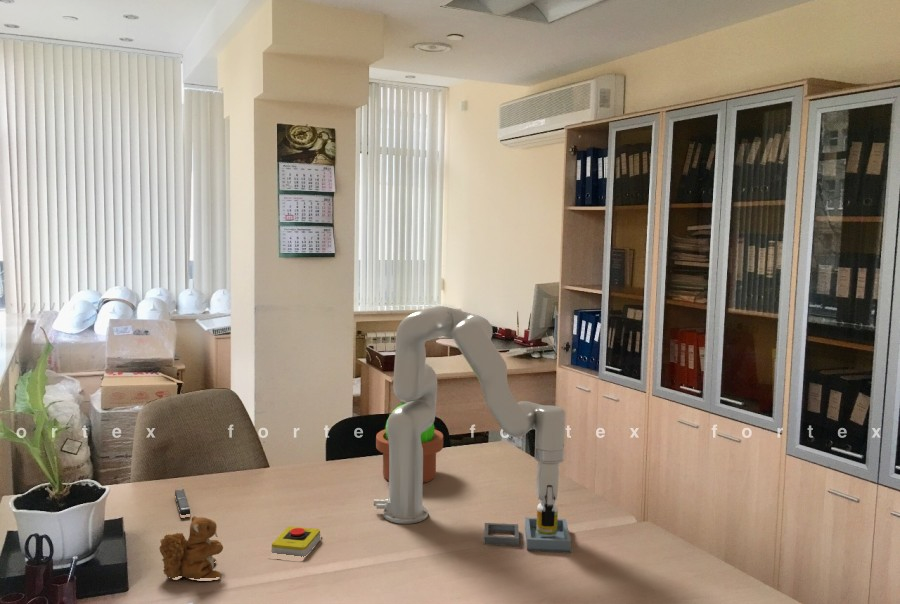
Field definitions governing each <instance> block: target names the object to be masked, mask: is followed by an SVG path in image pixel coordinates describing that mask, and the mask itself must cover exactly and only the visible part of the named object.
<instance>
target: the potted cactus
mask: <svg viewBox="0 0 900 604" xmlns="http://www.w3.org/2000/svg"><path fill="white" fill-rule="evenodd" d="M404 404H406V402H403V401H401V402H400V404H399V405H398V406H396V408H394V409H393V410H392V412H393V411H394V410H395V409H397V408H399V407H400V406H402V405H404ZM388 415H389V416H390V415H391V413H389V414H388ZM389 416H388V417H389ZM387 421H388V419H387V420H386V422H385V426H384V429H382V430H380V431H379V432H377V433H376V436H375V448H376V450H377V451H378V452H380V453H382V475H383V478H384V479H385V480H386V481H388V482H389V441H388V435H387ZM421 443H422V448H423V484H425V483H428V482H431V480H433V479H434V478H435V477H436V474H437V473H436V472H437V471H436V469H437V467H436V466H437V464H436V463H437V453H439V452H440V451H443V447H444V434H443V432H441V431H439V430H438V429H436V428H435V424H434V423H433V424H432V426H431V427H430V428H429V429H427V430H426V431H424V432H423V433H422V434H421Z"/></svg>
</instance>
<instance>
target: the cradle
mask: <svg viewBox="0 0 900 604" xmlns="http://www.w3.org/2000/svg"><path fill="white" fill-rule="evenodd" d="M519 531H520V530H519V524H518V523H501V522H500V523H498V522H497V523H496V522H484V532H483V545H492V546H513V547H519V546H520V533H519ZM490 532H491V533H508V532H510V533H513V534H514V536H509V535H508V536H507V535H489V533H490Z"/></svg>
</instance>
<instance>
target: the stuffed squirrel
mask: <svg viewBox="0 0 900 604" xmlns="http://www.w3.org/2000/svg"><path fill="white" fill-rule="evenodd" d="M189 525H190V526H189V536H188V539H186V537H185V536H184V533H183V532H180V533H178V532H176V533H173V534H170V533H168V534H165V535H164V536H163V538H162V539H160V540H159V541H160V546H159V551H160V554H161V556H162V559H161V561H162V562H163V563H162V564H163V570H162V571H163V574H164V575H165V576H166V577H167V578H168V577H170V578H175V577H178V576H182V577H187V578H194V579H200V578H216V577H220V576H221V575H222V574H221V572H220V571H218V570H214V566H215V564H214V562H215V561H216V562H217V558H215V557H213V556H216V555H220V553H222V552H223V550H224V545H223V544H222V542H221V541H219V540H218V539H211V538H212V537H214V536H215V537H216V538H218V534H217V528H218V527H217V526H218V525H217V522H216V521H214V520H212V519H210V518H207V517H202V516H200V517H197V516H192V517H191V523H190V524H189ZM170 578H169V579H170ZM187 578H186V579H187ZM220 578H221V577H220Z"/></svg>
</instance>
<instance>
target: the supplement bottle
mask: <svg viewBox="0 0 900 604" xmlns="http://www.w3.org/2000/svg"><path fill="white" fill-rule="evenodd" d="M545 499H547V497H545ZM546 504H547V502H546V501H545V505H546ZM542 510H543V500H542V499H541V500H539V503H538V505H537V507H536V518H537V533H538V534H539V535H541V536H544V537H552V536H555V535H556V534H557V519H559V518H558V513H559V509H558V506H557V505H556V501H554V511H555V513H554V526H542V524H541V522H542Z"/></svg>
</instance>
